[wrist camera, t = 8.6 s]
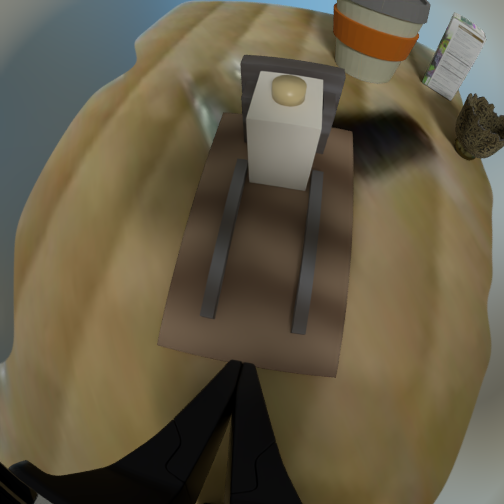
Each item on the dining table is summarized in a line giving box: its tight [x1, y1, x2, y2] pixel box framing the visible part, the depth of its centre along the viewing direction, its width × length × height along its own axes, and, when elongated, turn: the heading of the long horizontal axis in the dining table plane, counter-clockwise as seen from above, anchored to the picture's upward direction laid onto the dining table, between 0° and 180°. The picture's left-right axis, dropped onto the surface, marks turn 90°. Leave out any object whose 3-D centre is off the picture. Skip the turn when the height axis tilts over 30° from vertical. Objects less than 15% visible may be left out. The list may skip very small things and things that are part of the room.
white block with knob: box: [246, 71, 323, 191], centre depth 21 cm, size 6×5×9 cm
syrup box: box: [422, 13, 486, 101], centre depth 26 cm, size 6×6×14 cm
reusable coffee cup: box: [333, 0, 430, 84], centre depth 26 cm, size 13×13×15 cm
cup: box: [455, 93, 504, 160], centre depth 24 cm, size 8×7×8 cm
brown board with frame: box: [157, 55, 353, 378], centre depth 21 cm, size 24×14×9 cm, turn 170°
